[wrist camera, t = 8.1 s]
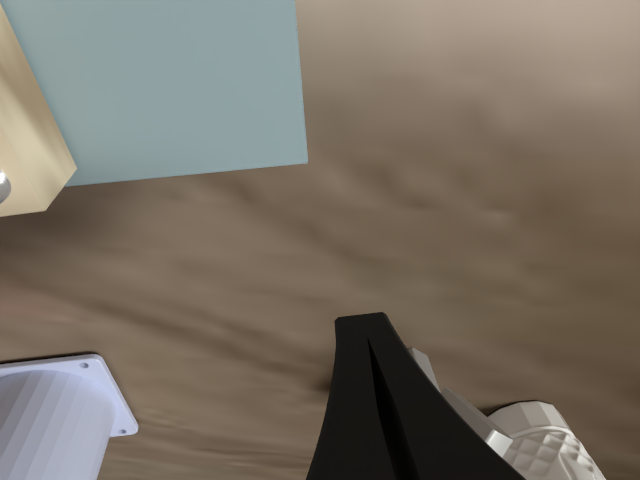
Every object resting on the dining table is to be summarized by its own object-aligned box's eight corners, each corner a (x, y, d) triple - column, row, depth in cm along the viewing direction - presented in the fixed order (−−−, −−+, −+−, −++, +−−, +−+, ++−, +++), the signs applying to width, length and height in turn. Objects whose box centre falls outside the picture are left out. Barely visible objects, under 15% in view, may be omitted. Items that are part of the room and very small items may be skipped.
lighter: (384, 388, 31) (415, 511, 25) (367, 380, 31) (394, 504, 24) (463, 331, 29) (520, 452, 22) (446, 320, 28) (500, 442, 21)
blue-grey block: (4, 166, 19) (-74, 240, 15) (-177, -179, 13) (-412, -230, 8) (304, 138, 20) (314, 201, 15) (274, -208, 13) (278, -269, 9)
